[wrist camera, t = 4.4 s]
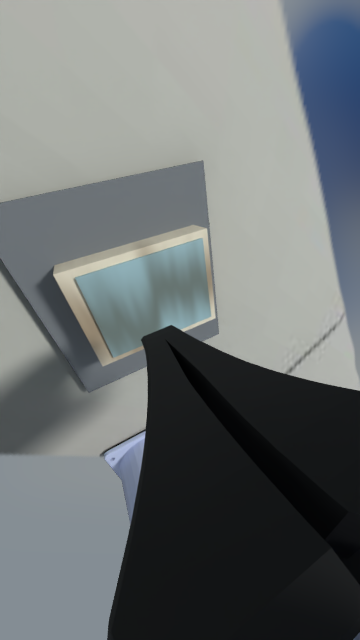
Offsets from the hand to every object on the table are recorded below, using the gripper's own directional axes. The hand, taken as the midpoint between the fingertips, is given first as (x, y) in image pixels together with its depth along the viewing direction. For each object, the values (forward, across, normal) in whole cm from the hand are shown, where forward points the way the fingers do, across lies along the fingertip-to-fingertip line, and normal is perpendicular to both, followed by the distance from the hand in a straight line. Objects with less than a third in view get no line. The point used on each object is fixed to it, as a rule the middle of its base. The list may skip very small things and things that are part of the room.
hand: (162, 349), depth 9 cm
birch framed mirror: (+5, +3, 0) cm, 6 cm away
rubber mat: (+6, 0, 0) cm, 6 cm away
